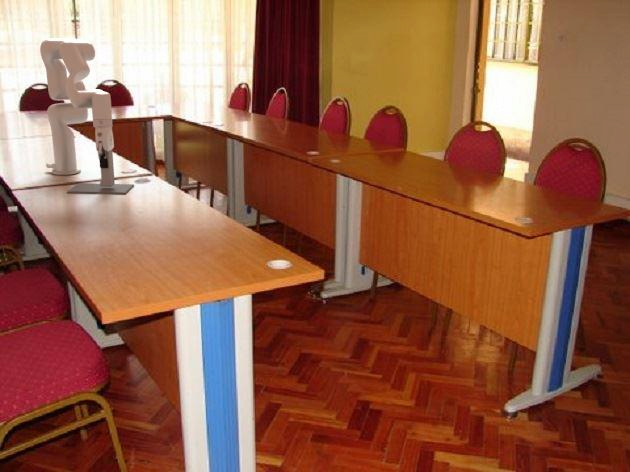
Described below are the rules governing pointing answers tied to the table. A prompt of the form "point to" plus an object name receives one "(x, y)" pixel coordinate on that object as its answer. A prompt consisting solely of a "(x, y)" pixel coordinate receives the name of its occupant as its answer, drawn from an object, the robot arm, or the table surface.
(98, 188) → the mat
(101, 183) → the vintage mobile phone
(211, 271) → the table surface
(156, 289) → the table surface
